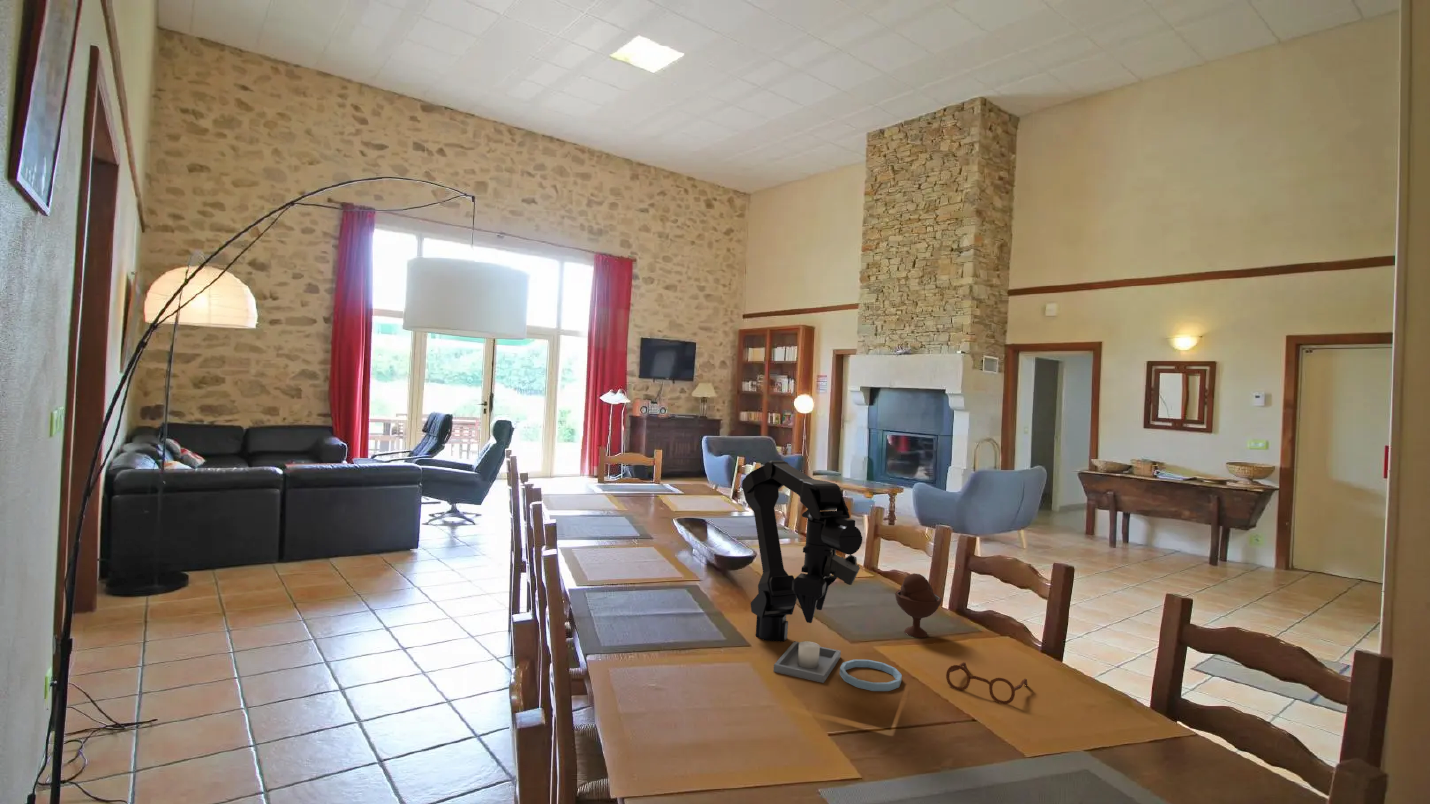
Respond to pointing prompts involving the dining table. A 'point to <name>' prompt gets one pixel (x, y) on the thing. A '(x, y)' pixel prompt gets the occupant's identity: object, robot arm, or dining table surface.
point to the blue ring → (866, 684)
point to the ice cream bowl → (917, 601)
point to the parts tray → (790, 667)
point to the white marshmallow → (808, 654)
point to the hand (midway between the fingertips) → (814, 615)
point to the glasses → (957, 667)
